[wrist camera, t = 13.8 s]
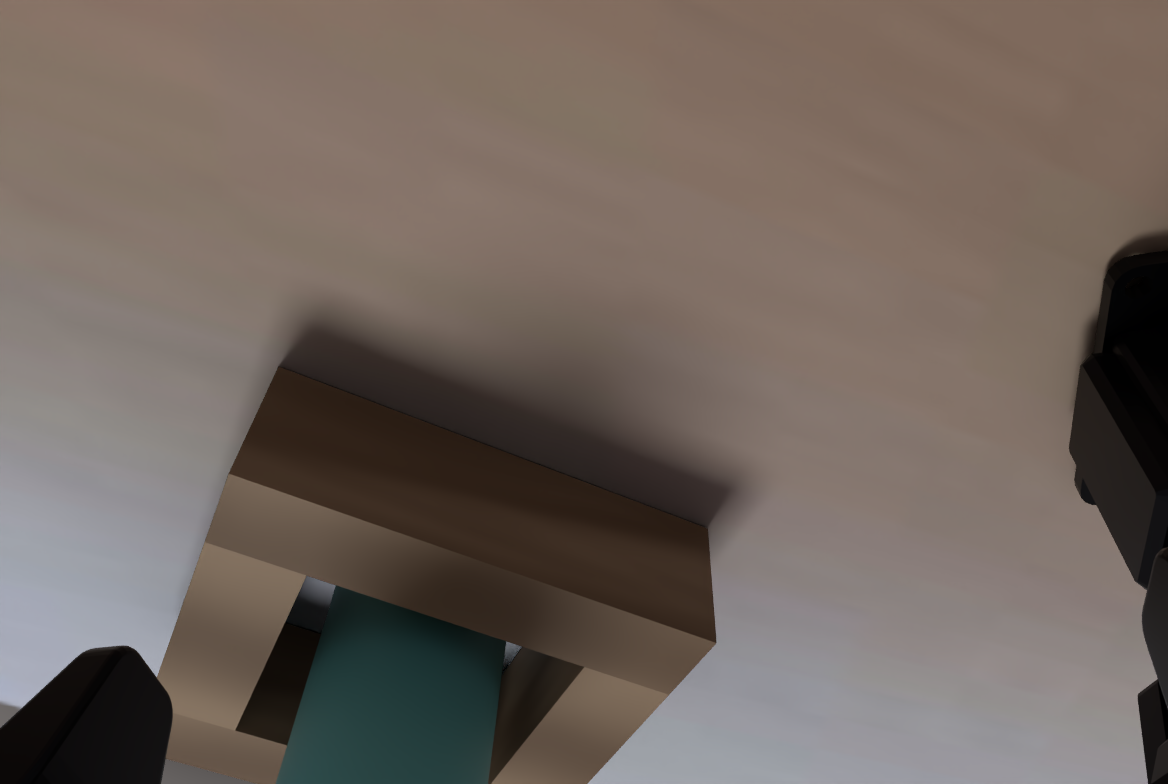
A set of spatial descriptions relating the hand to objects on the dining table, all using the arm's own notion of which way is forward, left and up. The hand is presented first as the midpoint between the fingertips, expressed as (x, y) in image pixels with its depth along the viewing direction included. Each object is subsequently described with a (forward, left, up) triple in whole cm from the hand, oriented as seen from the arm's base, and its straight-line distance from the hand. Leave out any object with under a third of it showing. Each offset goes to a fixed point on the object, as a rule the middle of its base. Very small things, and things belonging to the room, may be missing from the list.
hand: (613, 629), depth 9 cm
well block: (+7, +13, -12) cm, 19 cm away
